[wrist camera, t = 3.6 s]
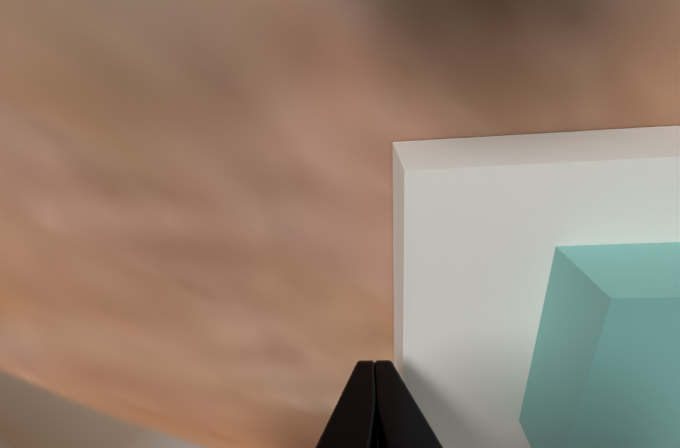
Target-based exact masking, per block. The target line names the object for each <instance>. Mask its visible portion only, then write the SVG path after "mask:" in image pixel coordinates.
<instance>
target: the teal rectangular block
mask: <svg viewBox="0 0 680 448" xmlns="http://www.w3.org/2000/svg"><path fill="white" fill-rule="evenodd" d="M519 422H520V424H521V426H522V429H523V431H524V433H525V435H526V438H527V440H528V442H529V444H530V447H531V448H680V242H663V243H634V244H606V245H577V246H556V247H555V252H554V257H553V262H552V266H551V271H550V276H549V281H548V285H547V290H546V295H545V299H544V304H543V309H542V314H541V318H540V323H539V328H538V333H537V337H536V342H535V347H534V352H533V356H532V361H531V366H530V371H529V375H528V380H527V385H526V390H525V394H524V399H523V404H522V408H521V413H520V418H519Z"/></svg>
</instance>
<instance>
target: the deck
mask: <svg viewBox="0 0 680 448" xmlns="http://www.w3.org/2000/svg"><path fill="white" fill-rule="evenodd" d="M663 242H680V125H679V126H661V127H644V128H627V129H609V130H592V131H575V132H558V133H540V134H523V135H506V136H488V137H471V138H454V139H436V140H419V141H402V142H393V283H394V366H395V368H396V369H397V371H398V373H399V374H400V376H401V378H402V379H403V381H404V383H405V384H406V386H407V388H408V390H409V391H410V393H411V395H412V396H413V398H414V400H415V401H416V403H417V405H418V406H419V408H420V410H421V411H422V413H423V415H424V416H425V418H426V420H427V421H428V423H429V425H430V426H431V428H432V430H433V431H434V433H435V435H436V436H437V438H438V440H439V441H440V443H441V445H442V446H443V448H531V447H530V444H529V442H528V440H527V438H526V435H525V433H524V431H523V429H522V426H521V424H520V422H519V418H520V413H521V408H522V404H523V399H524V394H525V390H526V385H527V380H528V375H529V371H530V366H531V361H532V356H533V352H534V347H535V342H536V337H537V333H538V328H539V323H540V318H541V314H542V309H543V304H544V299H545V295H546V290H547V285H548V281H549V276H550V271H551V266H552V262H553V257H554V252H555V247H556V246H577V245H606V244H634V243H663Z"/></svg>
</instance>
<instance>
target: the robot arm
mask: <svg viewBox="0 0 680 448" xmlns="http://www.w3.org/2000/svg"><path fill="white" fill-rule="evenodd" d="M377 433H378V435H377ZM316 448H443V446H442V445H441V443H440V441H439V440H438V438H437V436H436V435H435V433H434V431H433V430H432V428H431V426H430V425H429V423H428V421H427V420H426V418H425V416H424V415H423V413H422V411H421V410H420V408H419V406H418V405H417V403H416V401H415V400H414V398H413V396H412V395H411V393H410V391H409V390H408V388H407V386H406V384H405V383H404V381H403V379H402V378H401V376H400V374H399V373H398V371H397V369H396V368H395V366H394V364H393V363H392V362H391V361H389V360H378V361H376V362H375V364H374V361H358V362H357V364H356V366H355V368H354V370H353V372H352V374H351V376H350V378H349V380H348V382H347V384H346V386H345V388H344V390H343V392H342V395H341V397H340V399H339V401H338V403H337V405H336V407H335V409H334V411H333V413H332V415H331V417H330V419H329V421H328V423H327V425H326V427H325V429H324V431H323V433H322V435H321V438H320V440H319V442H318V444H317V446H316Z"/></svg>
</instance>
